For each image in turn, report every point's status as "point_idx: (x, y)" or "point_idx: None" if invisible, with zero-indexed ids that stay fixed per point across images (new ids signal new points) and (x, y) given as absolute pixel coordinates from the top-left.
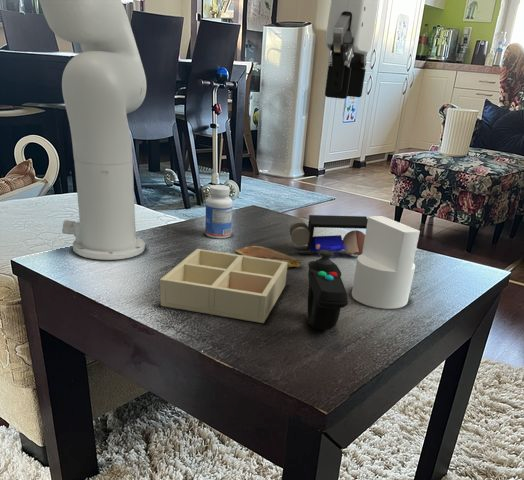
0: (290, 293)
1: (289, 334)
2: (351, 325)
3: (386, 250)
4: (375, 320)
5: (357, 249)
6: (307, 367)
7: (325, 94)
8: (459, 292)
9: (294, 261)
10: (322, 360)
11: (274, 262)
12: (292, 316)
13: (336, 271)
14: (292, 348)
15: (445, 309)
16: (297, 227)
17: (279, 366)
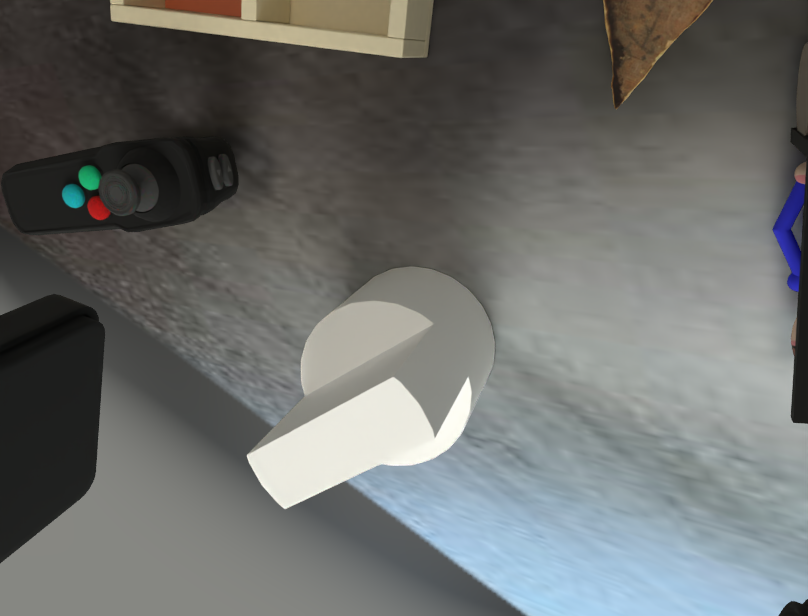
0: (371, 79)
1: (134, 95)
2: (226, 244)
3: (328, 392)
4: (271, 305)
5: (791, 340)
6: (28, 140)
7: (50, 299)
8: (520, 565)
9: (615, 75)
10: None
11: (391, 7)
12: (224, 96)
13: (136, 219)
14: (80, 106)
15: (389, 487)
16: None
17: (10, 84)
